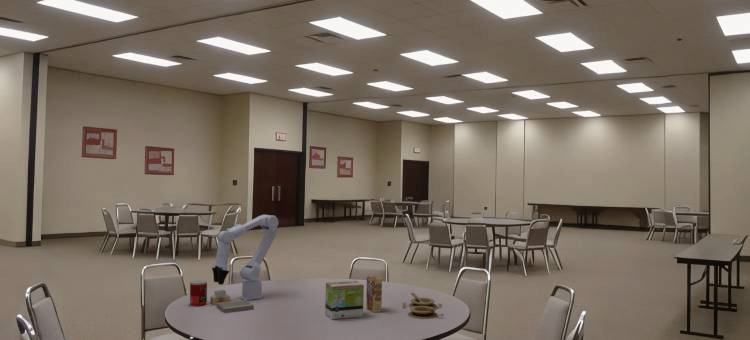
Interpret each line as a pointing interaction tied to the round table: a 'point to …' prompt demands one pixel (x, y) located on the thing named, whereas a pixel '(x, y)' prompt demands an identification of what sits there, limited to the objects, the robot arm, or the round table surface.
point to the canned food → (198, 293)
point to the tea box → (344, 299)
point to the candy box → (374, 294)
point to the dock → (235, 306)
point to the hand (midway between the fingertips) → (218, 283)
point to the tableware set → (422, 308)
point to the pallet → (219, 299)
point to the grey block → (220, 293)
